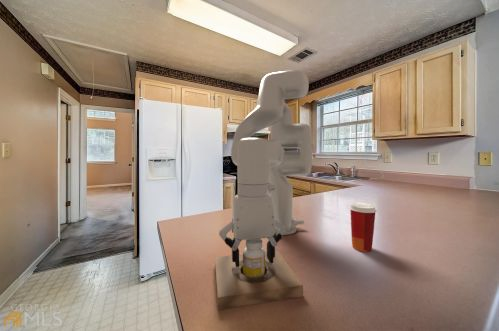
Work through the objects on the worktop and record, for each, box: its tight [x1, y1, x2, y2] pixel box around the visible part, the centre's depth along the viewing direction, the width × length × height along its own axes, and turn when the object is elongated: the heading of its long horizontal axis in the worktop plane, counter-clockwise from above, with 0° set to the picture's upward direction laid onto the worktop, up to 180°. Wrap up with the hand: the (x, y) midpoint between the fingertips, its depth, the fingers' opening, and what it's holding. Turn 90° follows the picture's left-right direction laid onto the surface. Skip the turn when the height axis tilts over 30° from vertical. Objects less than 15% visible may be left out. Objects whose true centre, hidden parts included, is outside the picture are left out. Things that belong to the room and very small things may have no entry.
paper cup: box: [348, 202, 378, 253], centre depth 65 cm, size 8×8×14 cm
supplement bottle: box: [242, 238, 266, 278], centre depth 49 cm, size 5×5×10 cm
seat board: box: [214, 250, 304, 310], centre depth 49 cm, size 18×16×2 cm
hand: (253, 261), depth 49 cm, fingers open, 7 cm apart
